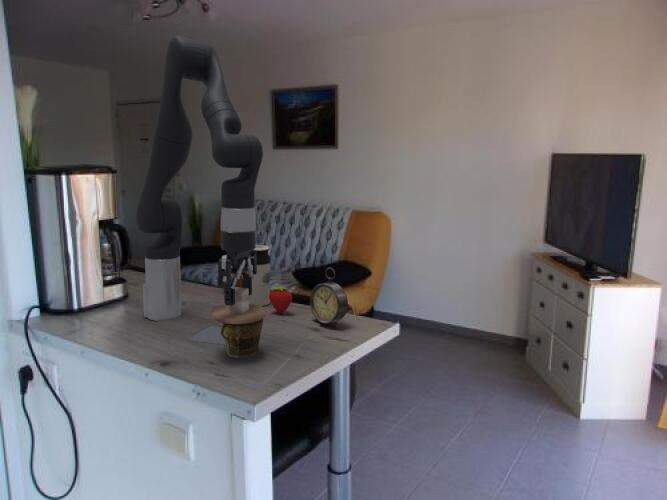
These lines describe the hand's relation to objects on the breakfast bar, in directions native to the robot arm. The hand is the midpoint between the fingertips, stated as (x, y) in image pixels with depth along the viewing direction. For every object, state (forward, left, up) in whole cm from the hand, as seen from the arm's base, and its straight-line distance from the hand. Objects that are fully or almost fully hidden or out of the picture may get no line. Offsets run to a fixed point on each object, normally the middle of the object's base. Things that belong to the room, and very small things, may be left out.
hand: (238, 299), depth 113 cm
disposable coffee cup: (-27, +52, -14) cm, 60 cm away
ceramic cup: (0, 0, -14) cm, 14 cm away
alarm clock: (+13, +29, -14) cm, 35 cm away
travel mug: (-14, +41, -14) cm, 45 cm away
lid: (0, 0, -4) cm, 4 cm away
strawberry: (-3, +33, -14) cm, 36 cm away
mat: (-10, +10, -14) cm, 20 cm away
